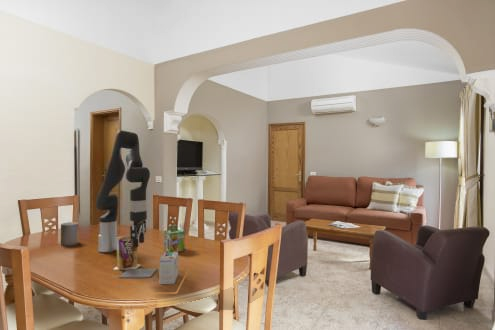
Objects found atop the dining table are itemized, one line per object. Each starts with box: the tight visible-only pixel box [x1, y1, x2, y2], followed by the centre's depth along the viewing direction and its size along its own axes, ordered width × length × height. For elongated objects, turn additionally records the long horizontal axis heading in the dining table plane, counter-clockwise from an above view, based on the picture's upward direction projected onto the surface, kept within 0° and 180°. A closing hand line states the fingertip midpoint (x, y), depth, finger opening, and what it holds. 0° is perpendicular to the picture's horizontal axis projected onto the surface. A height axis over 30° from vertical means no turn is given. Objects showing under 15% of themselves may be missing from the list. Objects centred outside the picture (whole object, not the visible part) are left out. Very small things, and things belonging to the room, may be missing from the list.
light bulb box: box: [158, 251, 179, 285], centre depth 134 cm, size 11×7×11 cm, turn 5°
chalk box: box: [163, 224, 186, 253], centre depth 178 cm, size 9×9×15 cm
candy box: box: [116, 234, 138, 271], centre depth 150 cm, size 9×4×15 cm, turn 130°
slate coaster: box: [118, 268, 158, 279], centre depth 141 cm, size 14×10×1 cm
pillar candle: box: [60, 221, 79, 247], centre depth 191 cm, size 10×10×15 cm
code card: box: [112, 263, 141, 271], centre depth 150 cm, size 11×7×1 cm, turn 90°
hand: (138, 244), depth 141 cm, fingers open, 7 cm apart
